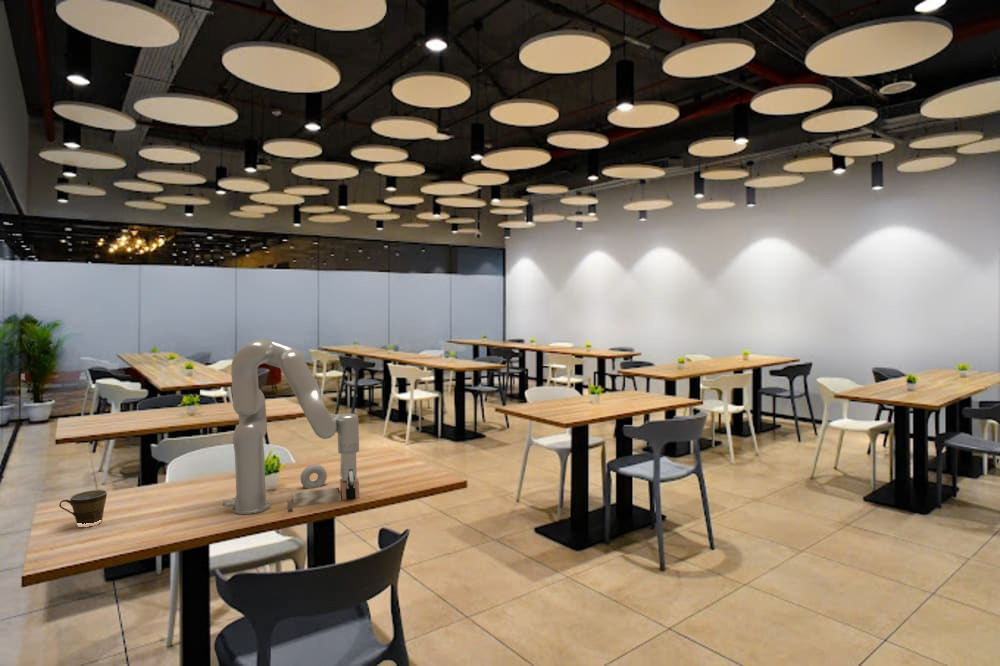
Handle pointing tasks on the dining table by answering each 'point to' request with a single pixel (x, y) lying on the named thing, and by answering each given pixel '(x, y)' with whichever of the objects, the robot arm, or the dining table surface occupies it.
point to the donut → (310, 470)
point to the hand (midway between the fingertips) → (349, 495)
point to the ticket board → (314, 497)
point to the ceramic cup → (87, 506)
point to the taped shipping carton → (344, 485)
